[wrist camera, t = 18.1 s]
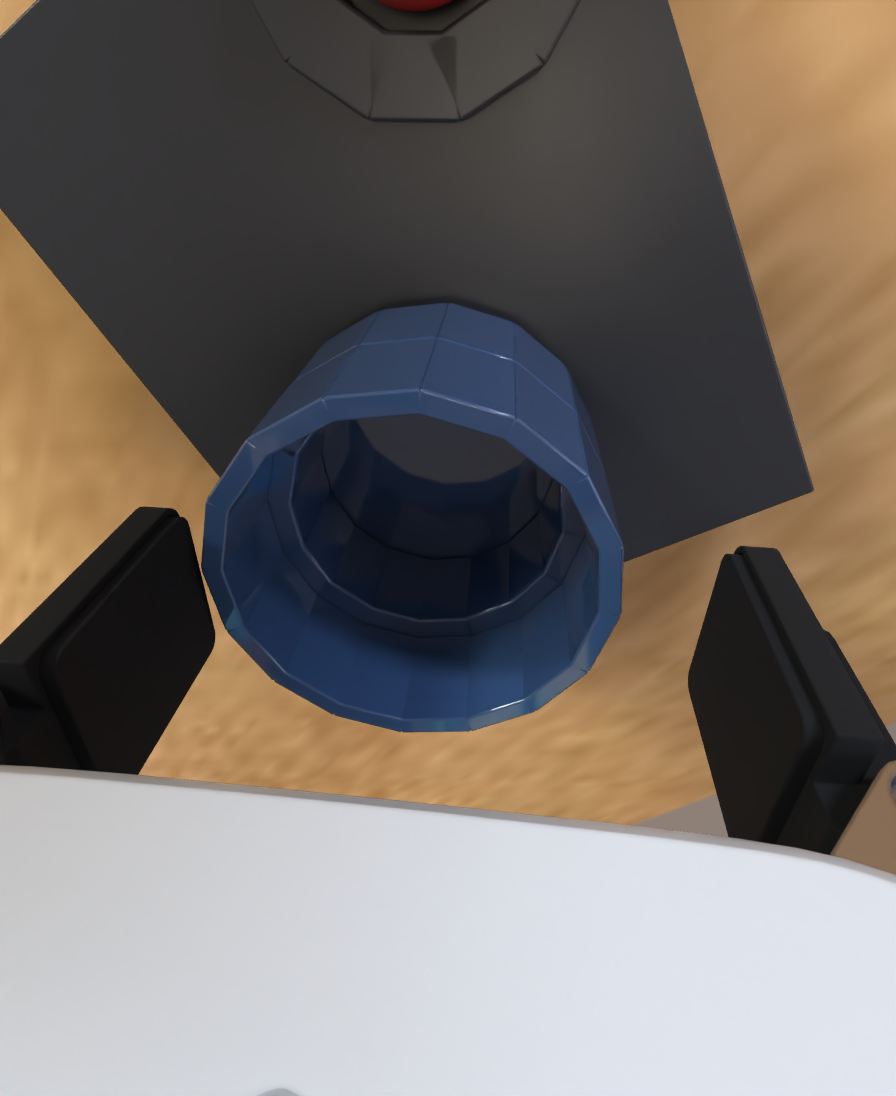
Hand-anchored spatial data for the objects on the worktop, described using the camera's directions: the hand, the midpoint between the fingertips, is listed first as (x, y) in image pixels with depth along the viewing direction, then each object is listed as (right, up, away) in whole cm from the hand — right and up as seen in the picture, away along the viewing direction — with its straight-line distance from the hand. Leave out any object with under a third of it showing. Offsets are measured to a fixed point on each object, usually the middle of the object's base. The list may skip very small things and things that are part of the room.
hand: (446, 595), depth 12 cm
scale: (-1, +7, +4) cm, 8 cm away
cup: (0, +3, +4) cm, 5 cm away
